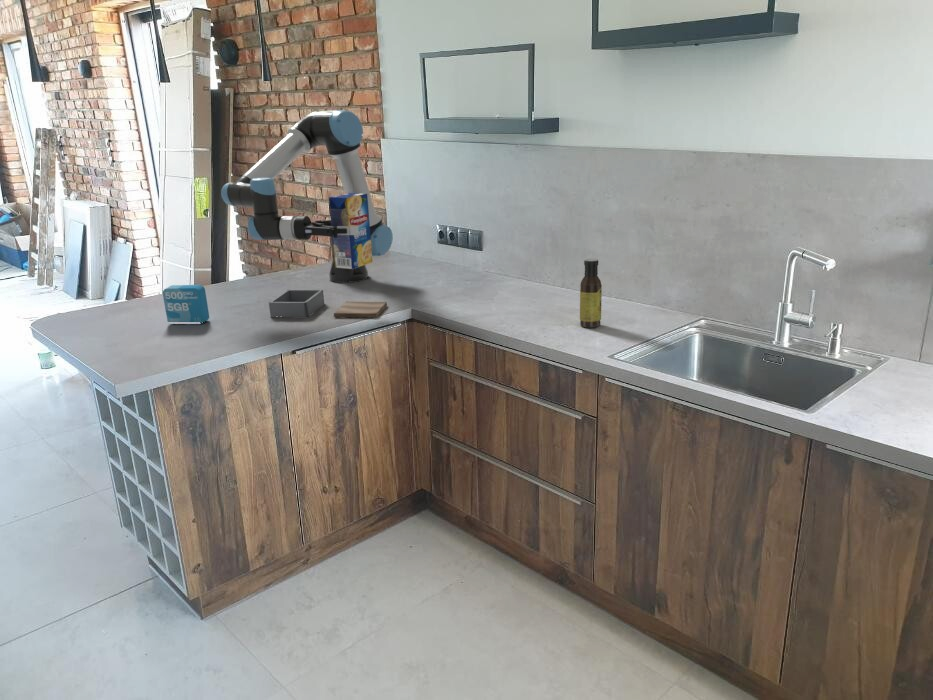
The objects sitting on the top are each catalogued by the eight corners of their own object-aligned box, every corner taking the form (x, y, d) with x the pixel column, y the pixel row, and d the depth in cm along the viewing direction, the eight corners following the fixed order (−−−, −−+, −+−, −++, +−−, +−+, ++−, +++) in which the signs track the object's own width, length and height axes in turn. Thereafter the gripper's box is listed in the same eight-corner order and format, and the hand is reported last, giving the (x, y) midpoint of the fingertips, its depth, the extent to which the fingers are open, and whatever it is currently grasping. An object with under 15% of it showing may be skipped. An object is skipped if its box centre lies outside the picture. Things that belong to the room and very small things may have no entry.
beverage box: (372, 261, 232) (367, 193, 224) (352, 269, 223) (346, 197, 215) (355, 260, 235) (349, 192, 227) (335, 267, 226) (328, 197, 218)
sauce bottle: (604, 327, 210) (606, 261, 203) (584, 329, 208) (585, 262, 202) (595, 321, 215) (597, 256, 209) (576, 323, 214) (577, 258, 208)
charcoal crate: (289, 303, 247) (287, 289, 245) (324, 303, 245) (322, 289, 243) (270, 317, 231) (268, 302, 229) (307, 317, 229) (306, 302, 228)
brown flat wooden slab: (346, 305, 241) (346, 301, 241) (386, 306, 240) (386, 301, 239) (334, 317, 228) (333, 313, 228) (376, 317, 227) (376, 313, 226)
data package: (167, 325, 226) (161, 288, 222) (174, 321, 231) (167, 285, 227) (204, 324, 226) (198, 288, 222) (210, 320, 230) (204, 284, 226)
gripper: (310, 233, 239) (373, 232, 236) (284, 246, 218) (353, 246, 214) (308, 210, 237) (372, 209, 234) (281, 222, 215) (351, 221, 212)
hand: (363, 227), depth 224 cm, fingers closed on beverage box, 11 cm apart
